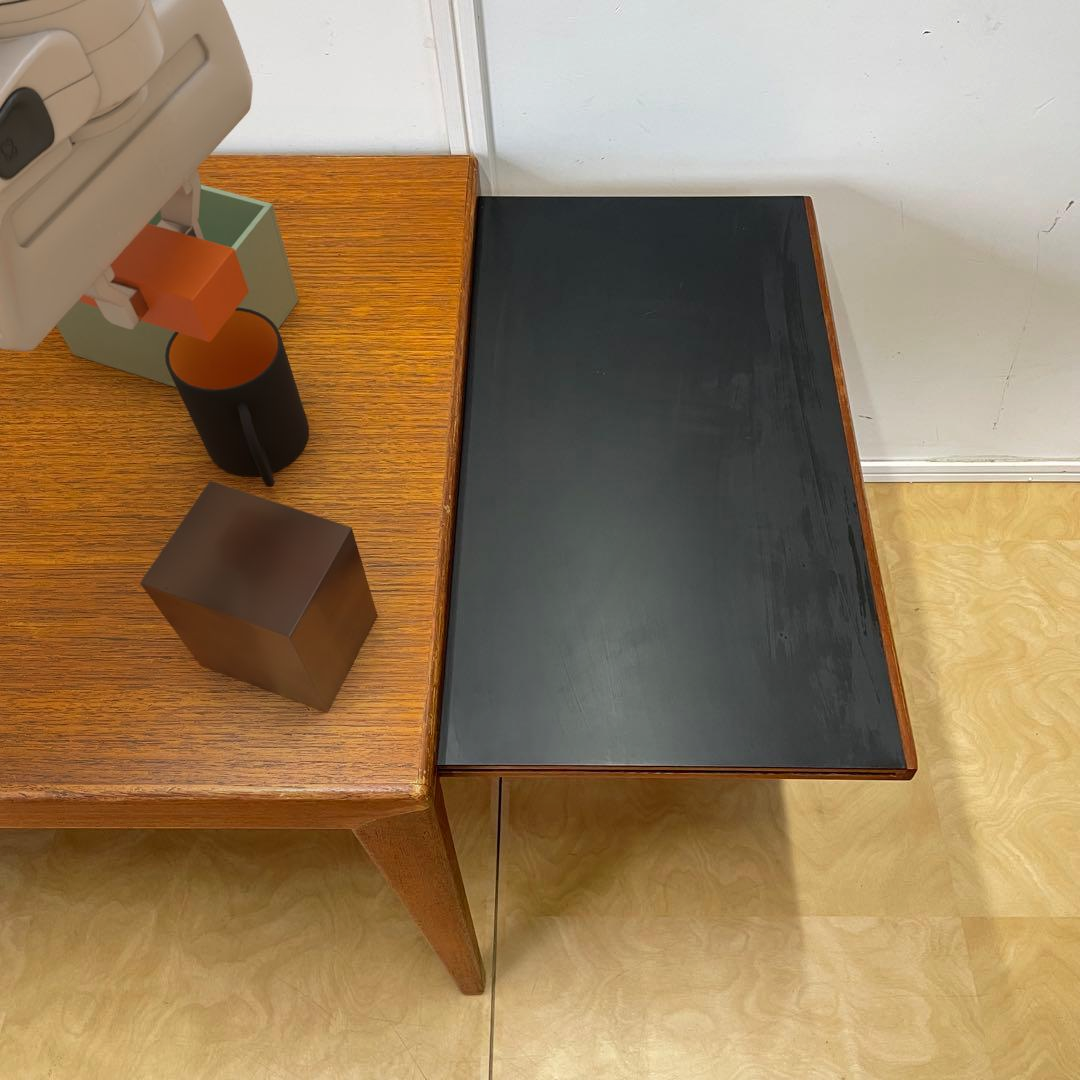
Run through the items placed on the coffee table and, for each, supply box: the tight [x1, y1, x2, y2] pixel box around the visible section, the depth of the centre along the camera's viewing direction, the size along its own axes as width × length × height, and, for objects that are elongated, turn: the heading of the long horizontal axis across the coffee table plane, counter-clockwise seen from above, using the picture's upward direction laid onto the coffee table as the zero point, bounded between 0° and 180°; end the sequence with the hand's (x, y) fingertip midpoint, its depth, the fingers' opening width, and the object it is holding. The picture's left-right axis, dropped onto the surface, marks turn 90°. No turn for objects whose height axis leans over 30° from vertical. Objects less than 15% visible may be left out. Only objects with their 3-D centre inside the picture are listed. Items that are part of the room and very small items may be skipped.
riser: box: [139, 480, 378, 713], centre depth 61 cm, size 10×8×12 cm
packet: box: [79, 224, 249, 342], centre depth 48 cm, size 8×4×3 cm, turn 69°
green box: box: [55, 184, 300, 389], centre depth 77 cm, size 15×13×10 cm
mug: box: [165, 308, 310, 488], centre depth 70 cm, size 8×12×10 cm
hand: (158, 284), depth 48 cm, fingers closed on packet, 4 cm apart
